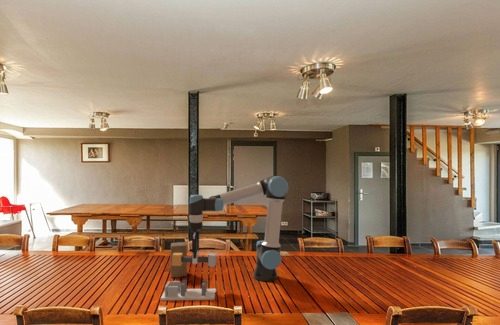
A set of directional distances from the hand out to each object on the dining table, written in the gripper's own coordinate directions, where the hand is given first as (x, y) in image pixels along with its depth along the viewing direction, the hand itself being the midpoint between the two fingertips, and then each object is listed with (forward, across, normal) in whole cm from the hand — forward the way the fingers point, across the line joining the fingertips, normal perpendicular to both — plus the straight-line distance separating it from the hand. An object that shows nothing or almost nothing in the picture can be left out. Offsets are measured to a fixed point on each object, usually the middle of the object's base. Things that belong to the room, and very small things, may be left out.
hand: (195, 262), depth 177 cm
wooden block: (+15, -23, -14) cm, 31 cm away
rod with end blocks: (+1, 0, 0) cm, 1 cm away
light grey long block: (+15, +10, -2) cm, 18 cm away
